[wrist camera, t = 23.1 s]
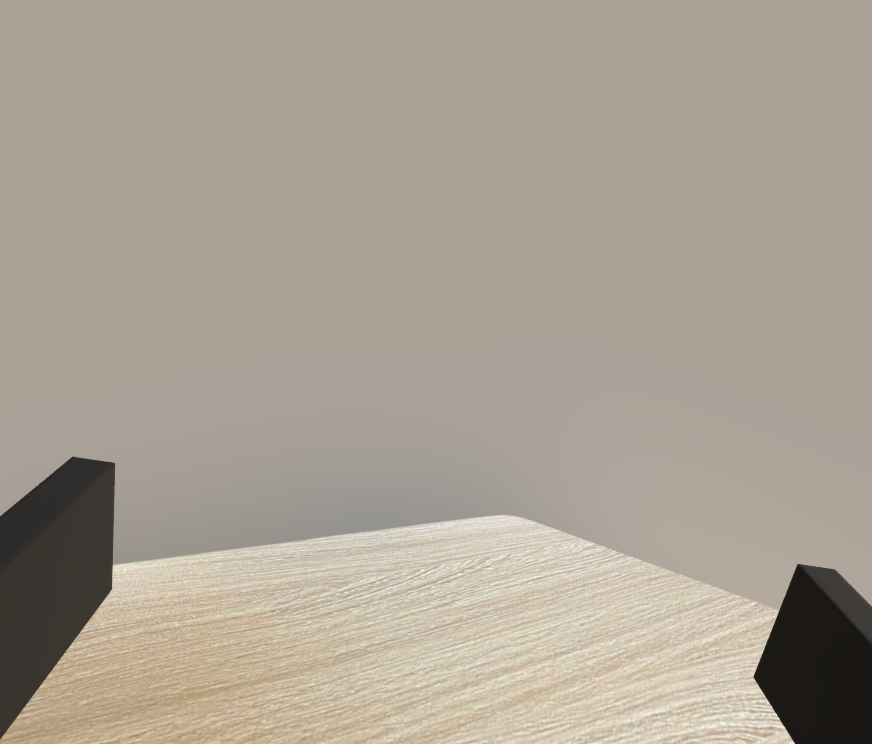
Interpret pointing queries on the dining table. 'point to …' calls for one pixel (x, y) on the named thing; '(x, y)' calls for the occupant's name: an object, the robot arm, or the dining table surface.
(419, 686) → the dining table surface
